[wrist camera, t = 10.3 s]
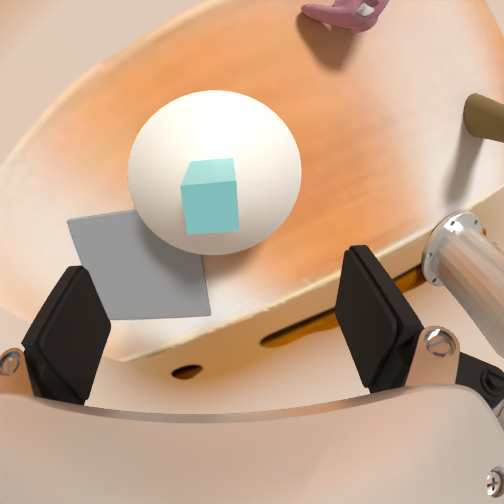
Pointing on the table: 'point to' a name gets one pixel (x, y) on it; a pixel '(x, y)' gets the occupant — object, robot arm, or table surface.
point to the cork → (484, 117)
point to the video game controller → (347, 13)
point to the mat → (138, 268)
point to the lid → (214, 172)
